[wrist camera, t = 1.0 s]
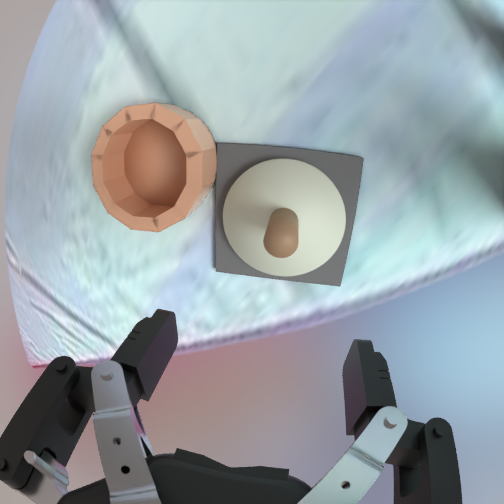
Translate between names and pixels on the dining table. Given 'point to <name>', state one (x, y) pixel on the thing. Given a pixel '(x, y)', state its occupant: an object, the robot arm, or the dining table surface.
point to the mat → (331, 164)
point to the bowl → (153, 165)
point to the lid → (284, 217)
